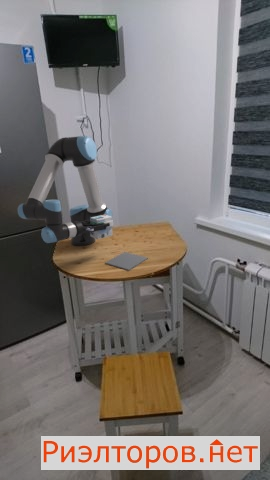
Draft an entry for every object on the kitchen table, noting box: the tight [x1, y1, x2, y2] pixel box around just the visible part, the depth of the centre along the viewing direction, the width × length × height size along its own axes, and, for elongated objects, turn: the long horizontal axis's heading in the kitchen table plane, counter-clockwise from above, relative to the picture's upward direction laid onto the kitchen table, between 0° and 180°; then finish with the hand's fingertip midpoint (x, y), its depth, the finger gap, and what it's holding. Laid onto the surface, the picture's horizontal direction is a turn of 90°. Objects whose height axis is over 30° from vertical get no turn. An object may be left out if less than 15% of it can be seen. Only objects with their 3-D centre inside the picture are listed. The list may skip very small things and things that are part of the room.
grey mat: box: [104, 251, 149, 271], centre depth 149 cm, size 16×16×1 cm
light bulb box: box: [90, 215, 114, 240], centre depth 152 cm, size 11×7×11 cm, turn 135°
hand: (108, 221), depth 155 cm, fingers closed on light bulb box, 7 cm apart
